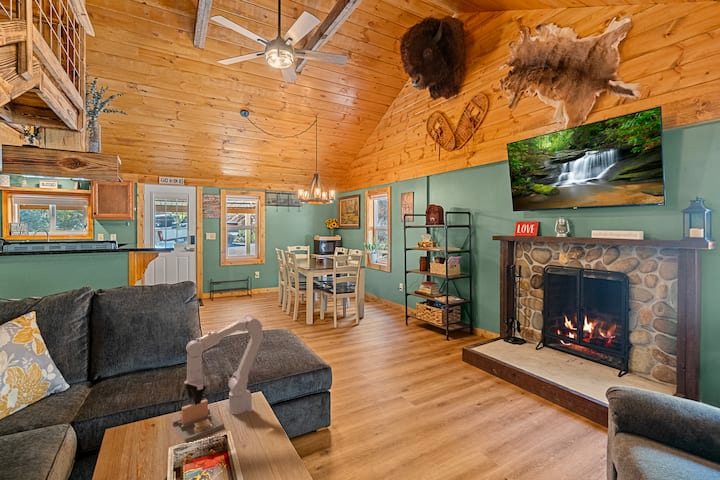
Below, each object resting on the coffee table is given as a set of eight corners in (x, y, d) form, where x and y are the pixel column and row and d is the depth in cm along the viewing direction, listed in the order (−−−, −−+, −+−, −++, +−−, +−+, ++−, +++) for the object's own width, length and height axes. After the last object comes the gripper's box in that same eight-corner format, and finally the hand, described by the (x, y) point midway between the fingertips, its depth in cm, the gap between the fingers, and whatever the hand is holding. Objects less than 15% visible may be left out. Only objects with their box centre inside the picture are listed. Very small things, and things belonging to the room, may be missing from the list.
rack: (209, 413, 153) (209, 408, 153) (224, 429, 141) (224, 423, 141) (172, 427, 143) (172, 421, 143) (185, 445, 131) (185, 439, 131)
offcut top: (208, 422, 142) (208, 419, 142) (210, 426, 139) (210, 422, 139) (194, 427, 139) (194, 423, 139) (196, 431, 136) (196, 427, 136)
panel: (206, 416, 149) (206, 399, 149) (207, 418, 148) (207, 400, 148) (181, 425, 142) (181, 407, 142) (183, 427, 141) (183, 409, 141)
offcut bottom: (207, 425, 143) (207, 421, 143) (212, 428, 140) (212, 425, 140) (193, 431, 138) (193, 428, 138) (198, 435, 136) (198, 431, 136)
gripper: (179, 366, 147) (179, 397, 147) (190, 377, 137) (190, 410, 137) (196, 362, 152) (196, 392, 152) (208, 372, 141) (208, 404, 142)
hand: (194, 400), depth 145 cm, fingers open, 7 cm apart
